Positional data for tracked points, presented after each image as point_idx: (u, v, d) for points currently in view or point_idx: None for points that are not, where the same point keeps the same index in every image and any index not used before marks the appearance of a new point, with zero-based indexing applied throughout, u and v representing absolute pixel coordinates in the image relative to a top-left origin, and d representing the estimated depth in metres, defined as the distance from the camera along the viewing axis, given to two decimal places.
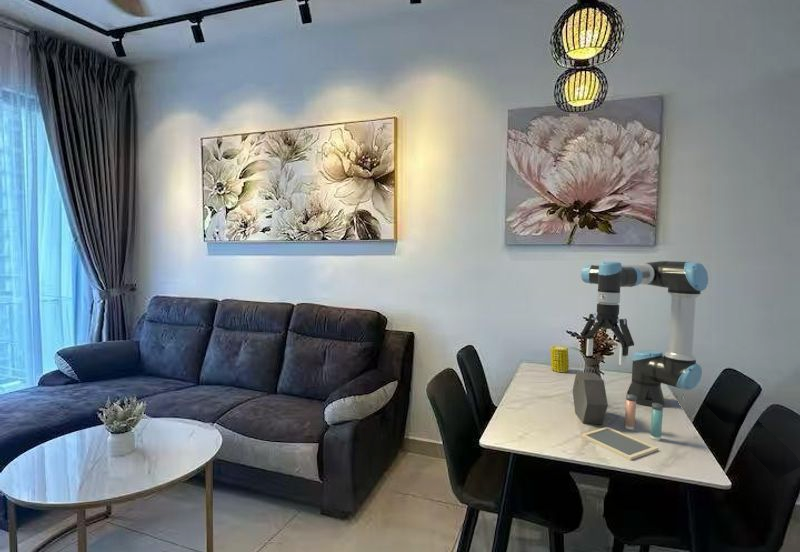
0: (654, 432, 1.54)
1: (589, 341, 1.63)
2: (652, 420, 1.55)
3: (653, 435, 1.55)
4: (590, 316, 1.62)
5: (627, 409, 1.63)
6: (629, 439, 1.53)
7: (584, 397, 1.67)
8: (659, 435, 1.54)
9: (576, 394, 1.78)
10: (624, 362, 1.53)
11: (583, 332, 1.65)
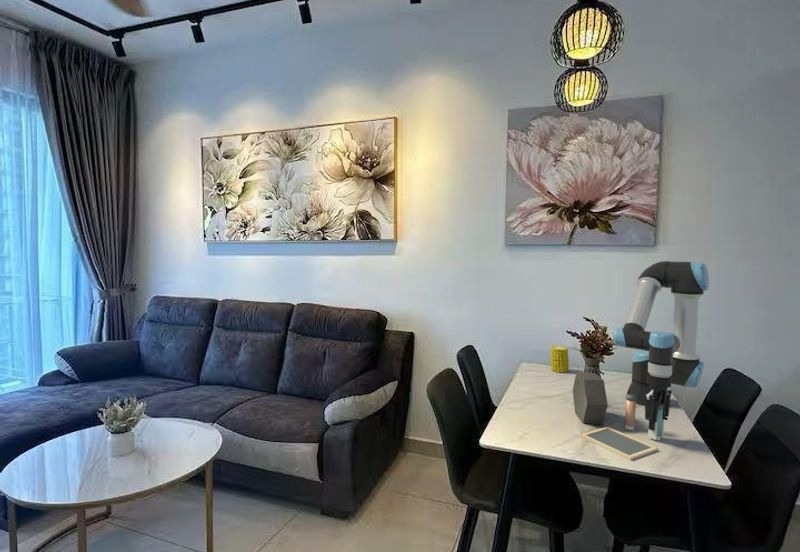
0: None
1: None
2: None
3: None
4: None
5: (627, 409, 1.63)
6: (629, 439, 1.53)
7: (584, 397, 1.67)
8: (659, 435, 1.54)
9: (576, 394, 1.78)
10: (653, 437, 1.54)
11: None
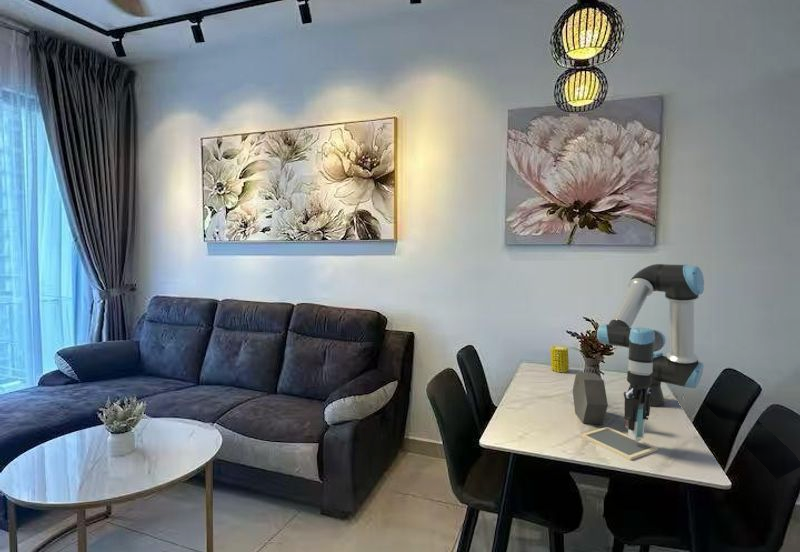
0: None
1: None
2: None
3: None
4: None
5: None
6: (629, 439, 1.53)
7: (584, 397, 1.67)
8: (639, 435, 1.48)
9: (576, 394, 1.78)
10: (633, 437, 1.48)
11: None
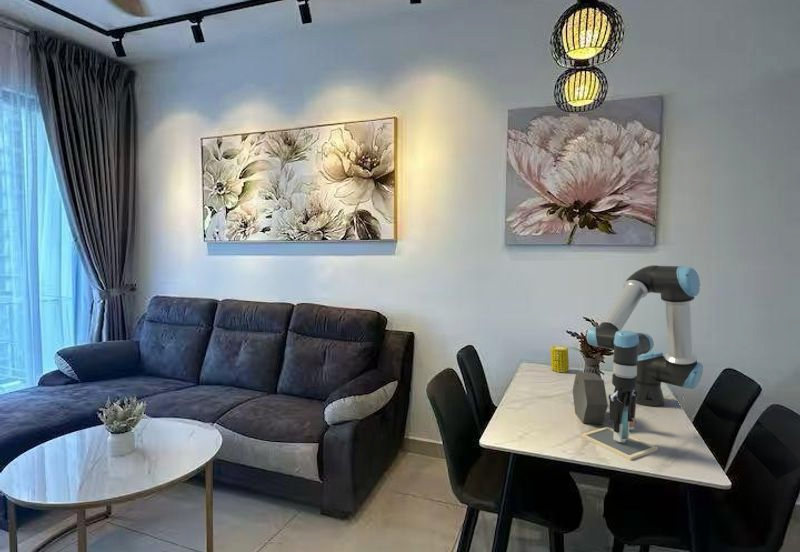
0: None
1: None
2: None
3: None
4: None
5: None
6: (629, 439, 1.53)
7: (584, 397, 1.67)
8: (624, 437, 1.50)
9: (576, 394, 1.78)
10: (618, 439, 1.50)
11: None
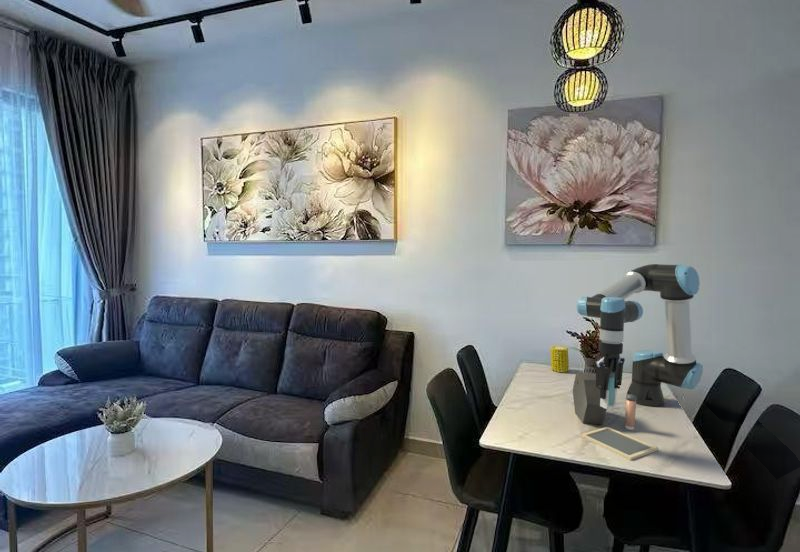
0: None
1: None
2: None
3: None
4: None
5: (627, 409, 1.63)
6: (629, 439, 1.53)
7: (584, 397, 1.67)
8: (611, 403, 1.49)
9: (576, 394, 1.78)
10: (605, 406, 1.49)
11: None
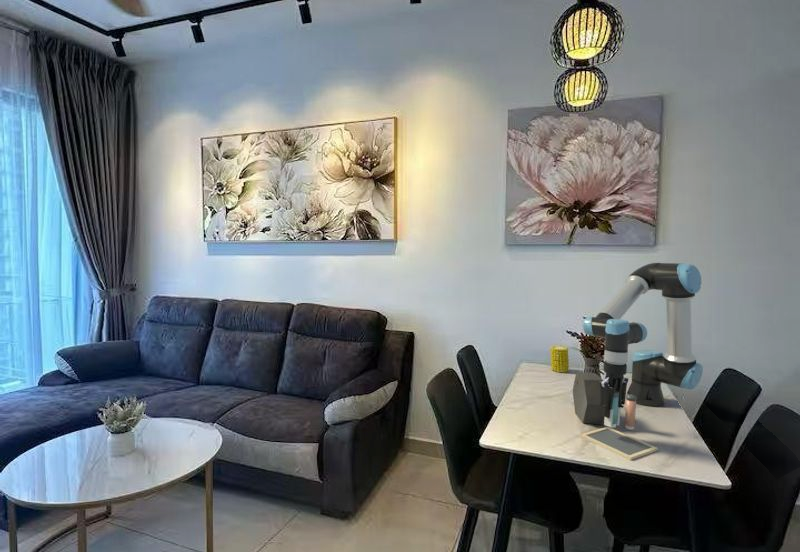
0: None
1: None
2: None
3: None
4: None
5: (627, 409, 1.63)
6: (629, 439, 1.53)
7: (584, 397, 1.67)
8: (615, 422, 1.54)
9: (576, 394, 1.78)
10: (609, 425, 1.54)
11: None
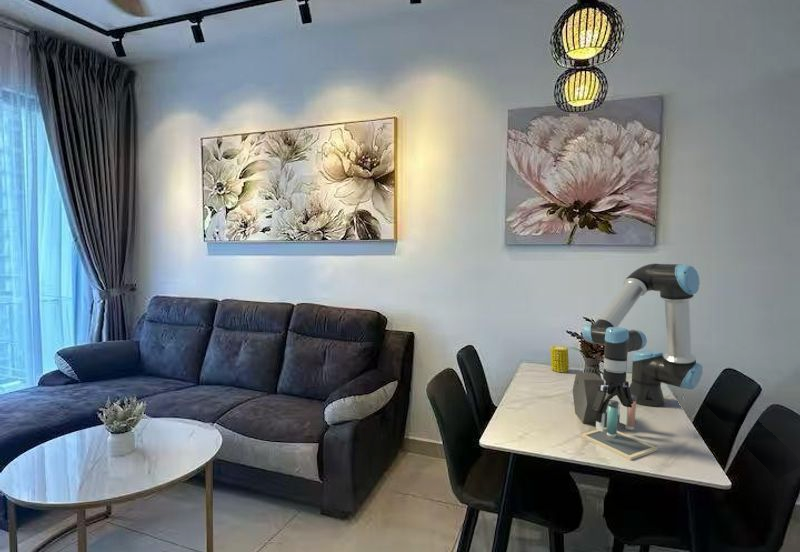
0: (609, 429, 1.55)
1: (621, 408, 1.59)
2: (608, 417, 1.55)
3: (609, 432, 1.55)
4: None
5: None
6: (629, 439, 1.53)
7: (584, 397, 1.67)
8: (614, 432, 1.54)
9: (576, 394, 1.78)
10: (600, 429, 1.52)
11: None
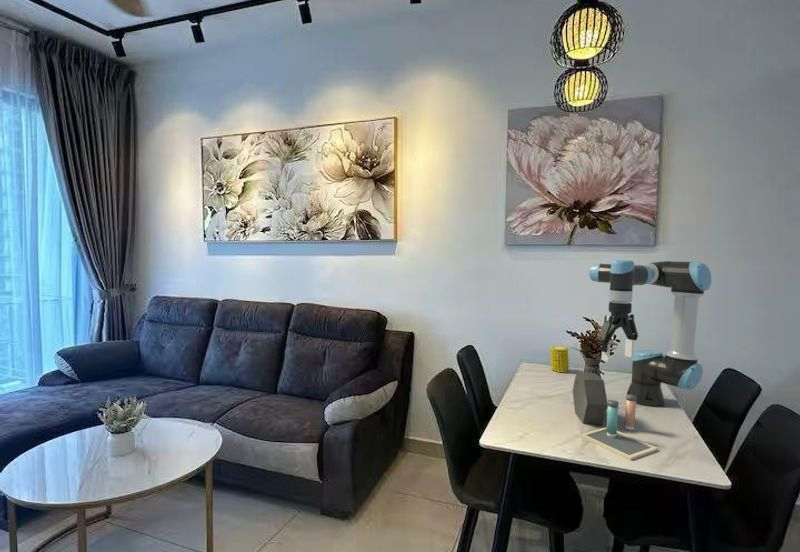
0: (609, 429, 1.55)
1: (626, 341, 1.61)
2: (608, 417, 1.55)
3: (609, 432, 1.55)
4: None
5: (627, 409, 1.63)
6: (629, 439, 1.53)
7: (584, 397, 1.67)
8: (614, 432, 1.54)
9: (576, 394, 1.78)
10: (606, 359, 1.54)
11: None
